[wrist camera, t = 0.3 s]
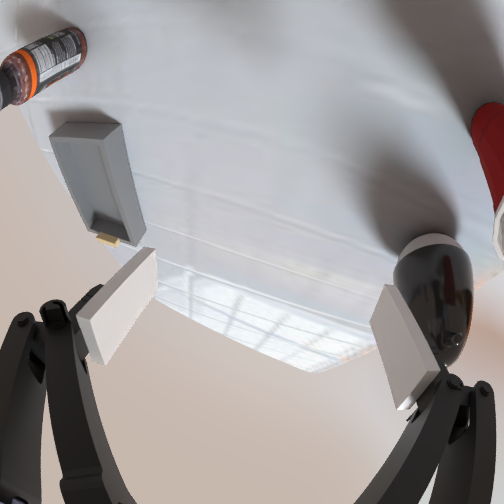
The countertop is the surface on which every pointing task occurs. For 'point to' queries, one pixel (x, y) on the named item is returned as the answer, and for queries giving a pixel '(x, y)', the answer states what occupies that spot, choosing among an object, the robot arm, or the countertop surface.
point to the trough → (100, 180)
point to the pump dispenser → (438, 290)
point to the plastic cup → (492, 161)
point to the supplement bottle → (40, 65)
